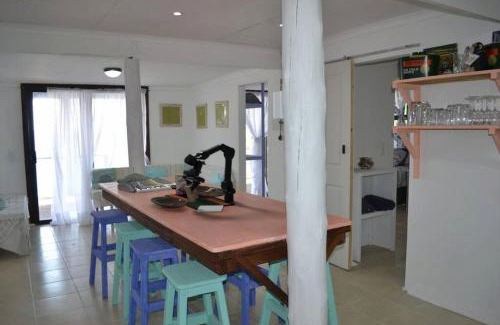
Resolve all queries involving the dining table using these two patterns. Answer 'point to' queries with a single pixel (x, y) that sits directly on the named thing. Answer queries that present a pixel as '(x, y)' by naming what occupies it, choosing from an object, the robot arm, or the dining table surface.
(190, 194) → the walnut block
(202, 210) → the grey mat
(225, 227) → the dining table surface
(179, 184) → the candy bar box
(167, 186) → the holder
